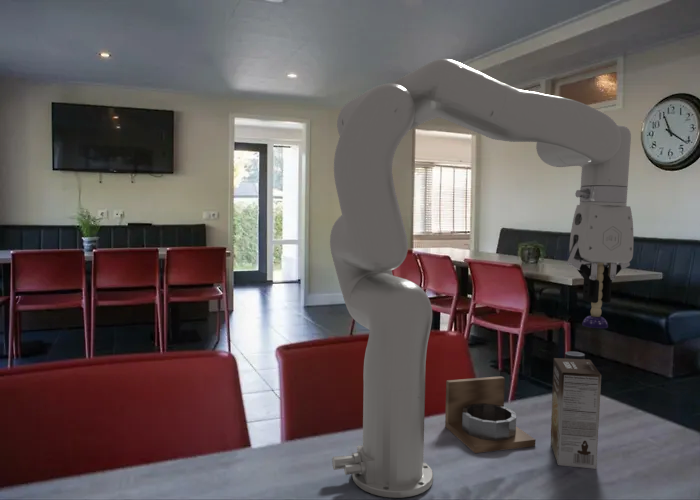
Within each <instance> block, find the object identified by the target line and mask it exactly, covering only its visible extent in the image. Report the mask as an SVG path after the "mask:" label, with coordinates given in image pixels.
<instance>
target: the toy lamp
mask: <svg viewBox="0 0 700 500" xmlns="http://www.w3.org/2000/svg"><path fill="white" fill-rule="evenodd" d="M603 264H604V263H599V262H598V264H597V278H596V280H599V296H598V302H597V303H592V302H590V304H591V309H590V315H587V316H586V317H585V318H584V319H583V321H582V322H581V324H582V326H583V327H587V328H592V329H607V328H609V323H608V321H607V320H606V319H605V318H604V317H603V316H601V315H602V309H601V308H602V306H603V302H602V300H601V299H602V296H603V293H602V289H603V283H602V281H603V278H604V277H603V272H604V266H603Z"/></svg>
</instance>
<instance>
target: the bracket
mask: <svg viewBox="0 0 700 500" xmlns="http://www.w3.org/2000/svg"><path fill="white" fill-rule="evenodd" d="M505 382H506V377H504V376H490V377H489V376H488V377H487V376H486V377H475V378H462V379H448V380H446V382H445V421H444V423H445V425H444V427H445V428H446V429H447V430H448V431H450V432H451V434H453V435H454V436H455V437H456V438H457V439H459V441H460V442H461V443H463V444H464V445H466V447H467V448H468V449H469V450H471V451H472V452H473V453H474V454H478V453H479V454H480V453H488V452H495V451H503V450H504V451H505V450H512V449H514V450H516V449H523V448H530V447H536V439H535V438H534V437H532V436H531V435H530V434H528V433H527V432H525V431H524V430H522V429H521V428H519V427H518V426H516V436H514V437H512V438H510V439H509V440H500V441H492V440H483V439H479V438H476V437H473V436H470V435H468V434H467V433H466V432H464V431H463V430H462V414H463V408H464V407H466V406H468V405H470V404H480V403H485V404H496V405H499V406H503V407H505Z"/></svg>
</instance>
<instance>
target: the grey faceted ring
mask: <svg viewBox="0 0 700 500" xmlns="http://www.w3.org/2000/svg"><path fill="white" fill-rule="evenodd" d="M516 427H517V413H516V412H515V411H514V410H513V409H510V408H509V407H506V406H504V407H503V406H499V405H496V404H485V403H480V404H470V405H468V406H466V407H464V408H463V414H462V430H463V431H464V432H466V433H467V434H468V435H470V436H473V437H476V438H479V439H483V440H492V441H500V440H509V439H510V438H512V437H514V436H516Z"/></svg>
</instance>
